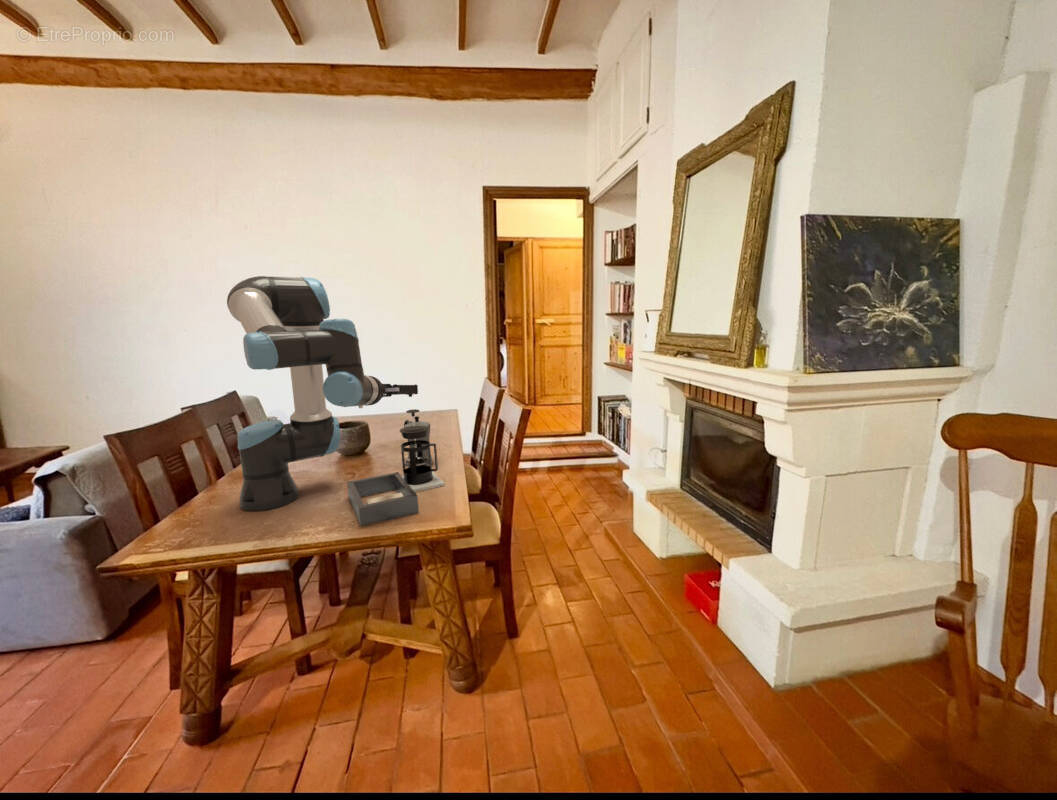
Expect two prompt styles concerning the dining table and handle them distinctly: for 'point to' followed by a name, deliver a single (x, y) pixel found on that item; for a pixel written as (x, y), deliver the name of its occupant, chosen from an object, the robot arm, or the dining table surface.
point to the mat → (428, 484)
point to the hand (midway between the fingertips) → (389, 391)
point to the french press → (417, 469)
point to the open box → (383, 508)
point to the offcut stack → (383, 498)
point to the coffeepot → (419, 423)
